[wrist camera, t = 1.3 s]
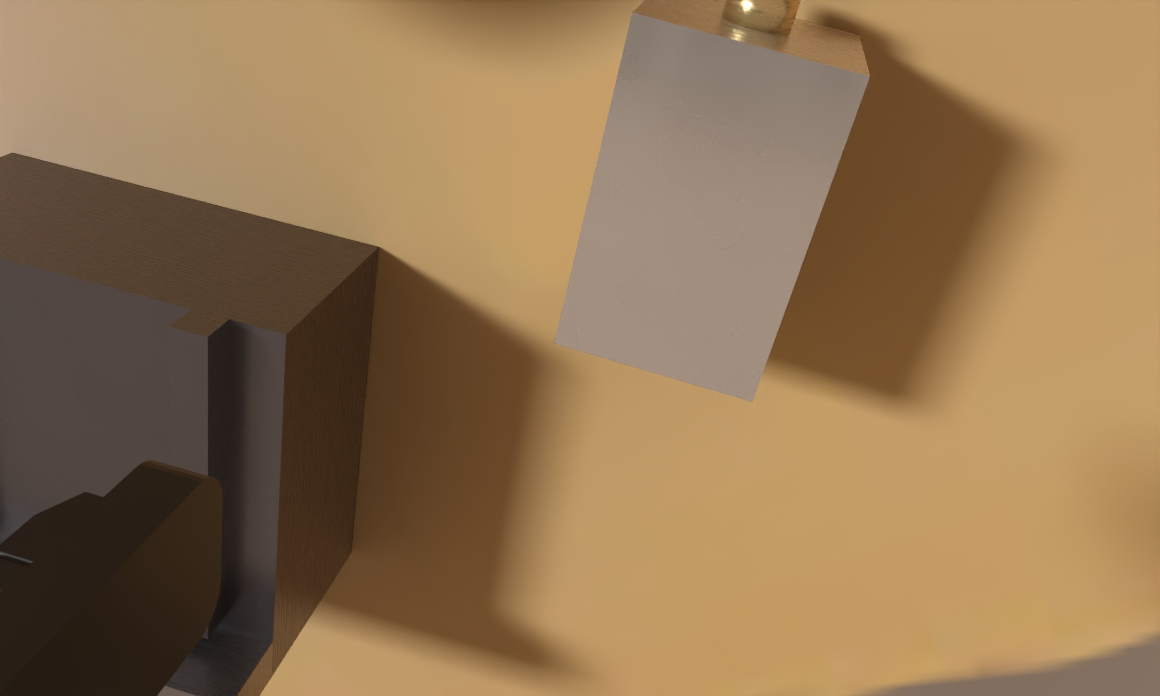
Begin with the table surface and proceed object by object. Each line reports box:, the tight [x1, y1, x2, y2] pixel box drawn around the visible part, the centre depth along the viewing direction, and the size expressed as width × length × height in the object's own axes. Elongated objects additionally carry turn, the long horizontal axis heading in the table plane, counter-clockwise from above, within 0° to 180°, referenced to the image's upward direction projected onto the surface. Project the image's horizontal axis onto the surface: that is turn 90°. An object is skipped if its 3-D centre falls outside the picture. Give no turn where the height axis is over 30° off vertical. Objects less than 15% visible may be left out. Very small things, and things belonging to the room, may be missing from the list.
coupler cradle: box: [0, 153, 379, 696], centre depth 29 cm, size 12×12×8 cm
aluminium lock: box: [555, 0, 870, 402], centre depth 24 cm, size 9×5×5 cm, turn 167°
